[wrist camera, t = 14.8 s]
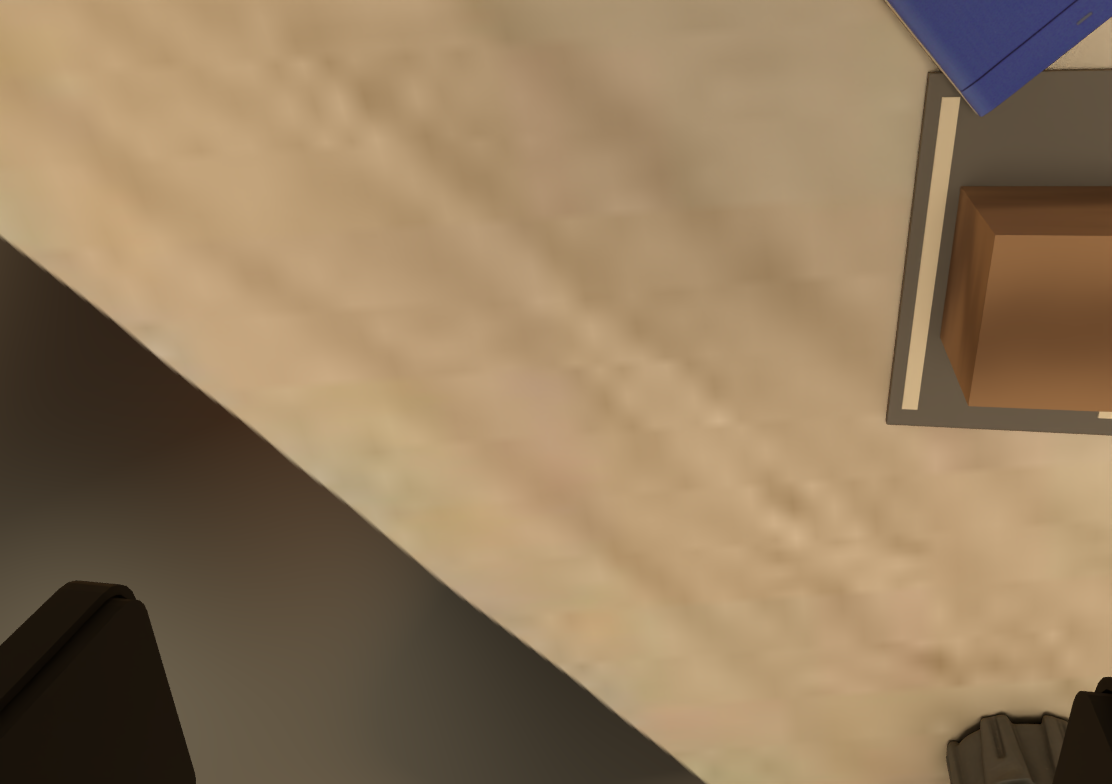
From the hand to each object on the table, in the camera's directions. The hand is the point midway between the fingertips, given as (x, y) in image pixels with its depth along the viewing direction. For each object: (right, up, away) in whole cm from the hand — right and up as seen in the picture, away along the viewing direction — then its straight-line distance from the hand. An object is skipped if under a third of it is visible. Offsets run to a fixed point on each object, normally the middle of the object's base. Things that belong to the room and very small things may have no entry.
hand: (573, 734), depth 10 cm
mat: (+18, +8, +27) cm, 33 cm away
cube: (+18, +8, +26) cm, 33 cm away
